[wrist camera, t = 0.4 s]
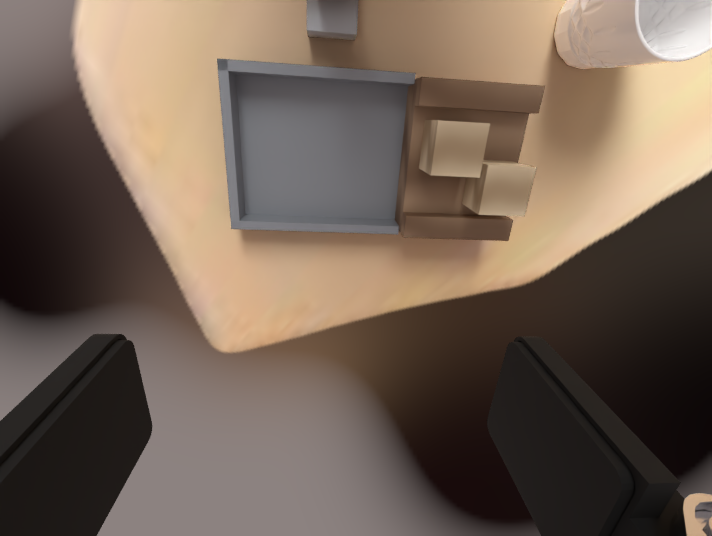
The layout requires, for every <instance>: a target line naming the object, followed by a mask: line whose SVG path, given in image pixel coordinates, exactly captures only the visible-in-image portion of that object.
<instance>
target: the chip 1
mask: <svg viewBox="0 0 712 536" xmlns="http://www.w3.org/2000/svg"><path fill="white" fill-rule="evenodd" d="M489 127H490V123H474V122H458V121H441V120H425V122H424V130H423V138H422V147H421V155H420V163H419V169H421V170H423V171H424V172H426V173H428V174H429V175H435V176H456V177H477V178H480V174H481V169H482V164H483V158H484V153H485V148H486V143H487V137H488V132H489Z"/></svg>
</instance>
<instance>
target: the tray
mask: <svg viewBox="0 0 712 536" xmlns="http://www.w3.org/2000/svg"><path fill="white" fill-rule="evenodd" d="M217 64H218V76H219V88H220V99H221V111H222V123H223V135H224V147H225V158H226V170H227V182H228V194H229V206H230V217H231V229H249V230H280V231H311V232H342V233H373V234H398V232H399V226H398V224H397V222H396V221H395V211H396V201H397V191H398V182H399V172H400V162H401V152H402V142H403V133H404V123H405V113H406V103H407V93H408V86H410V85H413V84H414V83H415V74H416V73H406V72H392V71H379V70H365V69H351V68H338V67H324V66H311V65H297V64H283V63H270V62H256V61H243V60H229V59H217Z"/></svg>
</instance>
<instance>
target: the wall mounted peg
mask: <svg viewBox="0 0 712 536" xmlns="http://www.w3.org/2000/svg"><path fill="white" fill-rule="evenodd" d="M358 1H359V0H307V33H308V37H320V38H333V39H345V40H355V38H356V35H357V21H358Z"/></svg>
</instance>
